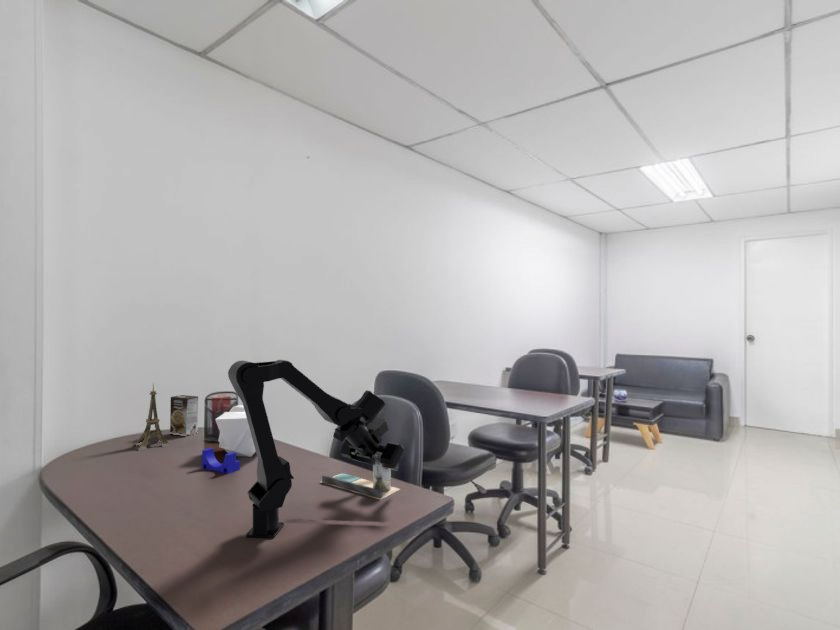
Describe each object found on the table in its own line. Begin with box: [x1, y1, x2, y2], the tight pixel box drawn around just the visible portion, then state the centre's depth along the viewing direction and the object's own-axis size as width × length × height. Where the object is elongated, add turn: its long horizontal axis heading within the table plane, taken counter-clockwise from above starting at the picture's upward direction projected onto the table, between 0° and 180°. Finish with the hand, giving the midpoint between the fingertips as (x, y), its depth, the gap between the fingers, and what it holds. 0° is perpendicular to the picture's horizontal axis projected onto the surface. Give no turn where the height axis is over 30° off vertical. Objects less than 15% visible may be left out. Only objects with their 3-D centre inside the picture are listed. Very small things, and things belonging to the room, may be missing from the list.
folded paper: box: [215, 404, 256, 458], centre depth 161 cm, size 17×24×17 cm
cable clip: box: [201, 447, 241, 475], centre depth 144 cm, size 12×4×6 cm, turn 64°
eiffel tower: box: [136, 383, 169, 448], centre depth 171 cm, size 11×11×25 cm
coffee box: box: [169, 394, 199, 434], centre depth 188 cm, size 9×6×16 cm
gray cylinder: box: [372, 454, 392, 492], centre depth 125 cm, size 5×5×11 cm
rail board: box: [320, 473, 401, 501], centre depth 127 cm, size 23×9×3 cm, turn 56°
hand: (384, 466), depth 126 cm, fingers open, 9 cm apart
